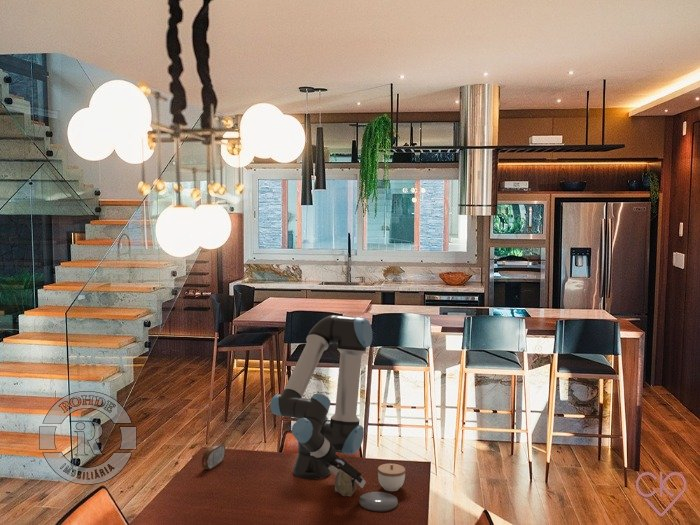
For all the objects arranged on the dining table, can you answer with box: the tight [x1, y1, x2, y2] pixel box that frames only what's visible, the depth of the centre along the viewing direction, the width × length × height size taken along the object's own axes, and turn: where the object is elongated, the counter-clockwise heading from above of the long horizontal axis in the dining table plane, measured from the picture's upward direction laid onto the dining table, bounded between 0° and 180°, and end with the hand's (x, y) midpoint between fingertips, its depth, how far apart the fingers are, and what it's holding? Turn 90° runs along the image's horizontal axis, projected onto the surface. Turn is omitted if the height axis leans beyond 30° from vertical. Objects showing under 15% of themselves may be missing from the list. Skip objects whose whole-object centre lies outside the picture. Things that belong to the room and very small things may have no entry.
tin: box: [201, 442, 226, 470], centre depth 272 cm, size 15×3×8 cm, turn 160°
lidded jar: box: [377, 463, 406, 492], centre depth 253 cm, size 11×11×9 cm
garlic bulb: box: [334, 469, 358, 497], centre depth 247 cm, size 9×8×10 cm
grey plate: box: [358, 491, 399, 512], centre depth 240 cm, size 14×14×1 cm
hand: (351, 479), depth 249 cm, fingers open, 13 cm apart
